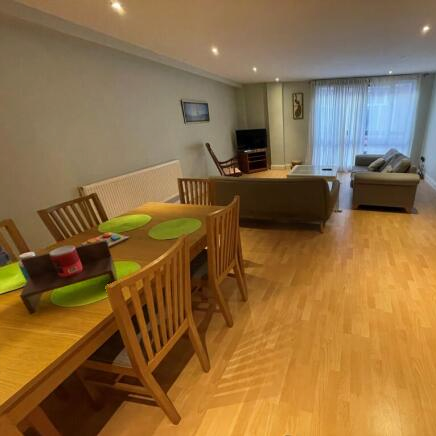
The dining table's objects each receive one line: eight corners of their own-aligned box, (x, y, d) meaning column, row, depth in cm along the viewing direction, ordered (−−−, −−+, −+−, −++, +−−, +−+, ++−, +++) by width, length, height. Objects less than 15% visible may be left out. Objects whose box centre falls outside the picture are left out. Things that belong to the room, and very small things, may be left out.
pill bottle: (32, 285, 108) (19, 260, 103) (23, 282, 110) (10, 257, 105) (53, 276, 114) (41, 251, 109) (43, 273, 117) (32, 249, 112)
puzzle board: (102, 251, 136) (100, 246, 135) (80, 246, 142) (78, 241, 141) (130, 238, 152) (129, 233, 150) (109, 234, 157) (107, 229, 156)
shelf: (29, 314, 92) (9, 277, 85) (38, 292, 104) (21, 258, 97) (117, 286, 107) (106, 253, 100) (116, 270, 119) (106, 239, 112)
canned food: (87, 266, 106) (78, 244, 102) (75, 277, 99) (65, 253, 95) (67, 268, 105) (58, 246, 101) (54, 279, 98) (43, 255, 93)
